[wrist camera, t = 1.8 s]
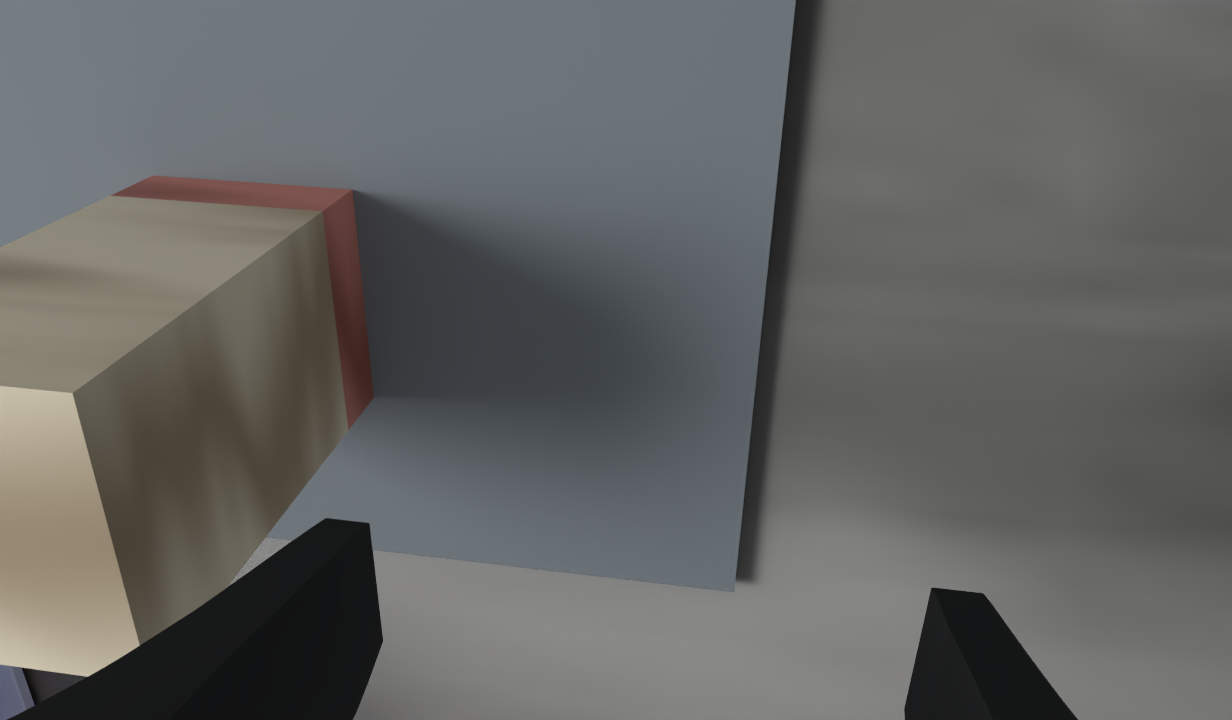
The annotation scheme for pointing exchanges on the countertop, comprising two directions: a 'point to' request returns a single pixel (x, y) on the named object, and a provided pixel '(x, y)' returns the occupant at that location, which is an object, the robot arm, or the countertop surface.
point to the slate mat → (472, 239)
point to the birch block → (165, 401)
